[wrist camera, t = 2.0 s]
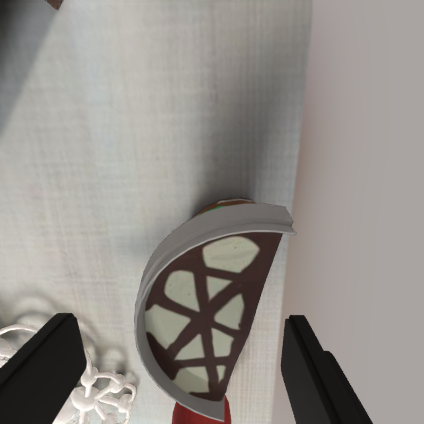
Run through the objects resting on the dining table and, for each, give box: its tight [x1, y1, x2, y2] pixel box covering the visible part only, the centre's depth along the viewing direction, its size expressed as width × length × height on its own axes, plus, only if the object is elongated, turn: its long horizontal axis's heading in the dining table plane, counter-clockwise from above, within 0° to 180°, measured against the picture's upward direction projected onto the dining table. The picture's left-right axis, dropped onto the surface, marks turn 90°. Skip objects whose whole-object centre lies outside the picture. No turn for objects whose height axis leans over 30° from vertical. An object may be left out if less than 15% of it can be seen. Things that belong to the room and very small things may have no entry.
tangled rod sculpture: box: [0, 324, 136, 424], centre depth 23 cm, size 19×14×4 cm
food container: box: [134, 198, 297, 422], centre depth 14 cm, size 12×6×10 cm, turn 167°
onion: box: [172, 395, 231, 424], centre depth 20 cm, size 6×6×8 cm
